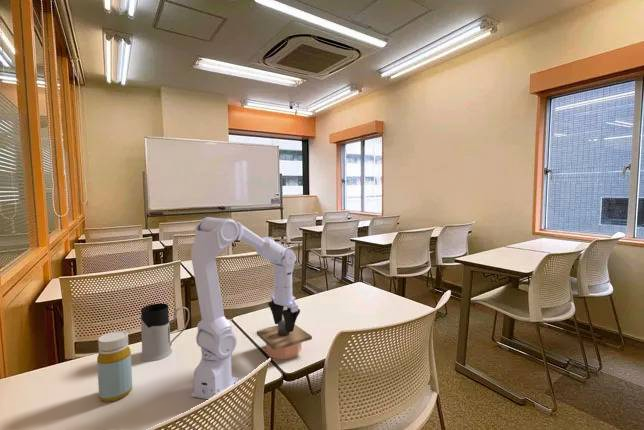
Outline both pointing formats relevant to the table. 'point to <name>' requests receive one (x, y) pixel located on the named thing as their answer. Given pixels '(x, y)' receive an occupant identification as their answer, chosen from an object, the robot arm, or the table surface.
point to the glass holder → (156, 331)
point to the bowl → (284, 351)
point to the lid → (283, 336)
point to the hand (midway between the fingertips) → (283, 327)
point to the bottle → (114, 366)
